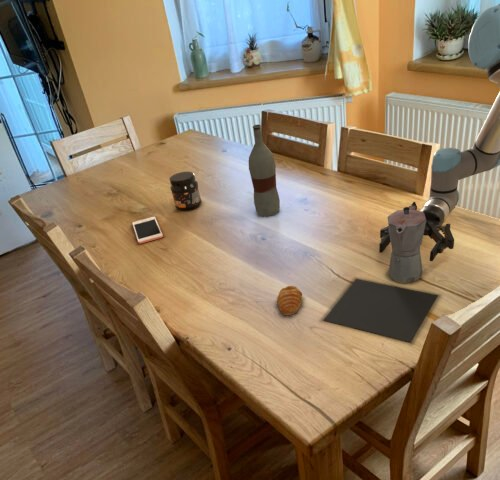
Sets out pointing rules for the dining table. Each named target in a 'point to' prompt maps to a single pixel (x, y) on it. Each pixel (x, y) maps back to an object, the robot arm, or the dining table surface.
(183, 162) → the dining table surface
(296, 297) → the pastry
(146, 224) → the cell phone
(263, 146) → the bottle
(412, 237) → the moka pot
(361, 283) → the mat
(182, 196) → the supplement container
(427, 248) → the dining table surface
